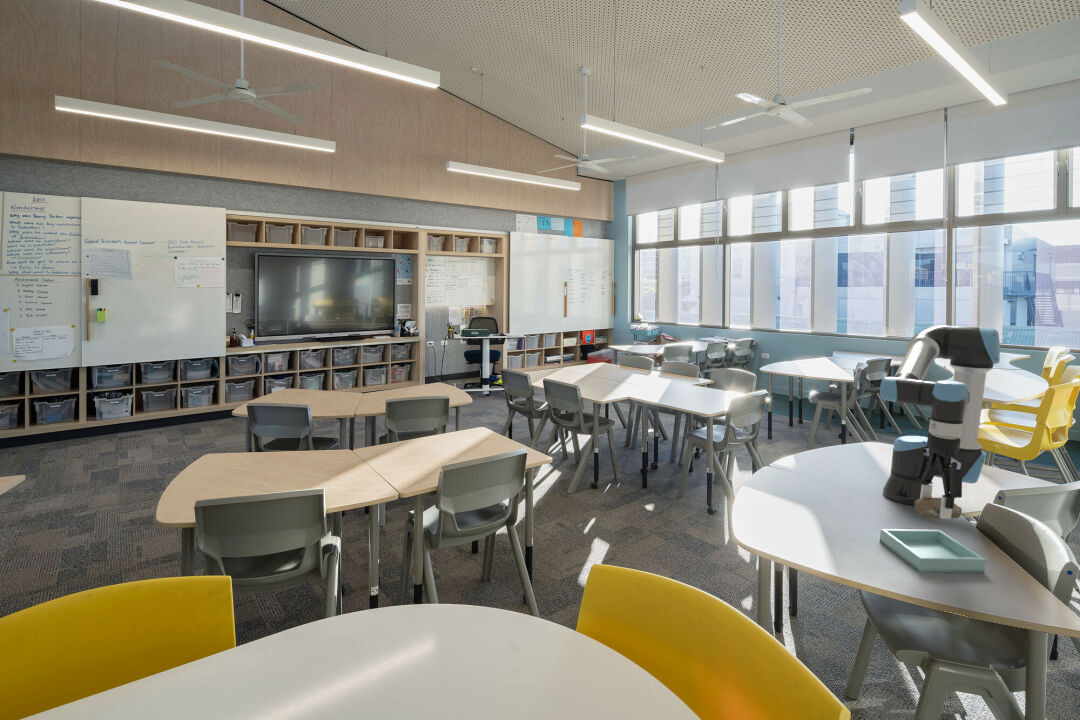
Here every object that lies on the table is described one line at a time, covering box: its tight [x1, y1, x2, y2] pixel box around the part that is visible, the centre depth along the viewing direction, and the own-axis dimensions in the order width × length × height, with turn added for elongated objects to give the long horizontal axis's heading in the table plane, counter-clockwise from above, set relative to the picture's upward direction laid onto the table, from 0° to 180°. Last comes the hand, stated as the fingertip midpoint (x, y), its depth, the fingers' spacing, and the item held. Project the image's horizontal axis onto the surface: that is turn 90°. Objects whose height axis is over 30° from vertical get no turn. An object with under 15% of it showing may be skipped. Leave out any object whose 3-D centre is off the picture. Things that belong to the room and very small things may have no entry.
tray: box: [879, 528, 987, 574], centre depth 161 cm, size 18×18×4 cm
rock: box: [913, 496, 963, 520], centre depth 159 cm, size 8×11×4 cm
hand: (934, 511), depth 159 cm, fingers closed on rock, 8 cm apart
